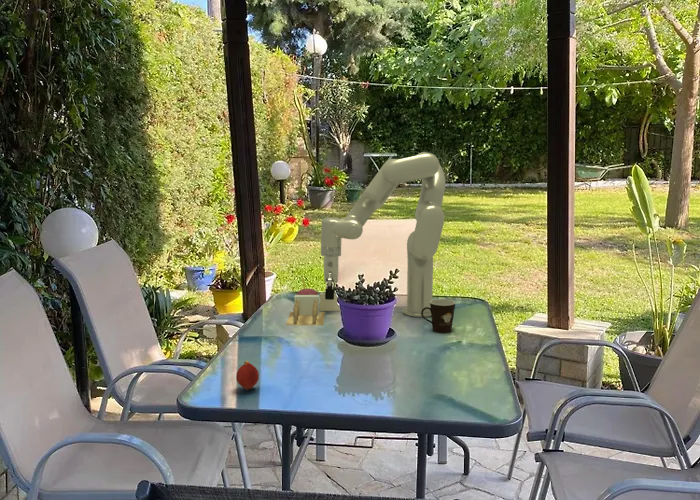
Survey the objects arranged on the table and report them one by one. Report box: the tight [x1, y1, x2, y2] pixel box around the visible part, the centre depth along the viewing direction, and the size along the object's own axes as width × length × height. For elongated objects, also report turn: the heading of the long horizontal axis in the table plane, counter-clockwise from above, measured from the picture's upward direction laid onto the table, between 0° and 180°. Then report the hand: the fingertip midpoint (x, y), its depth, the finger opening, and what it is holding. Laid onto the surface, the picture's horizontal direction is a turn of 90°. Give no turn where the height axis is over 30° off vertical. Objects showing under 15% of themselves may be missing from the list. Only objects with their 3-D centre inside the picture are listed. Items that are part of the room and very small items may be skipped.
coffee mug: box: [421, 298, 456, 334], centre depth 220 cm, size 12×9×10 cm
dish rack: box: [285, 300, 326, 326], centre depth 230 cm, size 13×17×8 cm
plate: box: [293, 294, 321, 315], centre depth 235 cm, size 9×3×7 cm, turn 90°
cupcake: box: [295, 275, 319, 295], centre depth 251 cm, size 9×8×12 cm
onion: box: [236, 360, 260, 391], centre depth 169 cm, size 6×6×8 cm
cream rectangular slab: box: [319, 292, 341, 312], centre depth 241 cm, size 9×3×8 cm, turn 90°
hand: (329, 296), depth 240 cm, fingers open, 9 cm apart
